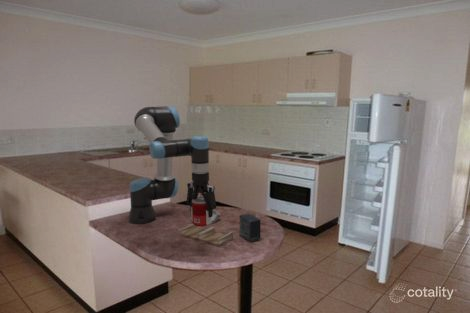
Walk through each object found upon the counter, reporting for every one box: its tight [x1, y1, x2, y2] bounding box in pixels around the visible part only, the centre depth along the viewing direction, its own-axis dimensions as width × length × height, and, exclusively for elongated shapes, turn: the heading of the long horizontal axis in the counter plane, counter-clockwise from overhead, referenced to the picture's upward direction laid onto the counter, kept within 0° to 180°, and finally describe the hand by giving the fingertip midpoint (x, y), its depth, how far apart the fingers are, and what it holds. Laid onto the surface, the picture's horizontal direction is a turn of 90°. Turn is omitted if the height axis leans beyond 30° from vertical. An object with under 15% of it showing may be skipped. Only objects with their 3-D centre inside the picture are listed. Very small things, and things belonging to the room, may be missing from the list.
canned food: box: [191, 196, 208, 227], centre depth 147 cm, size 8×8×11 cm
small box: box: [239, 213, 261, 243], centre depth 161 cm, size 11×6×10 cm, turn 28°
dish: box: [211, 209, 221, 224], centre depth 186 cm, size 14×14×5 cm
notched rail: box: [180, 223, 234, 248], centre depth 162 cm, size 24×11×4 cm, turn 56°
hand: (201, 221), depth 148 cm, fingers closed on canned food, 8 cm apart
